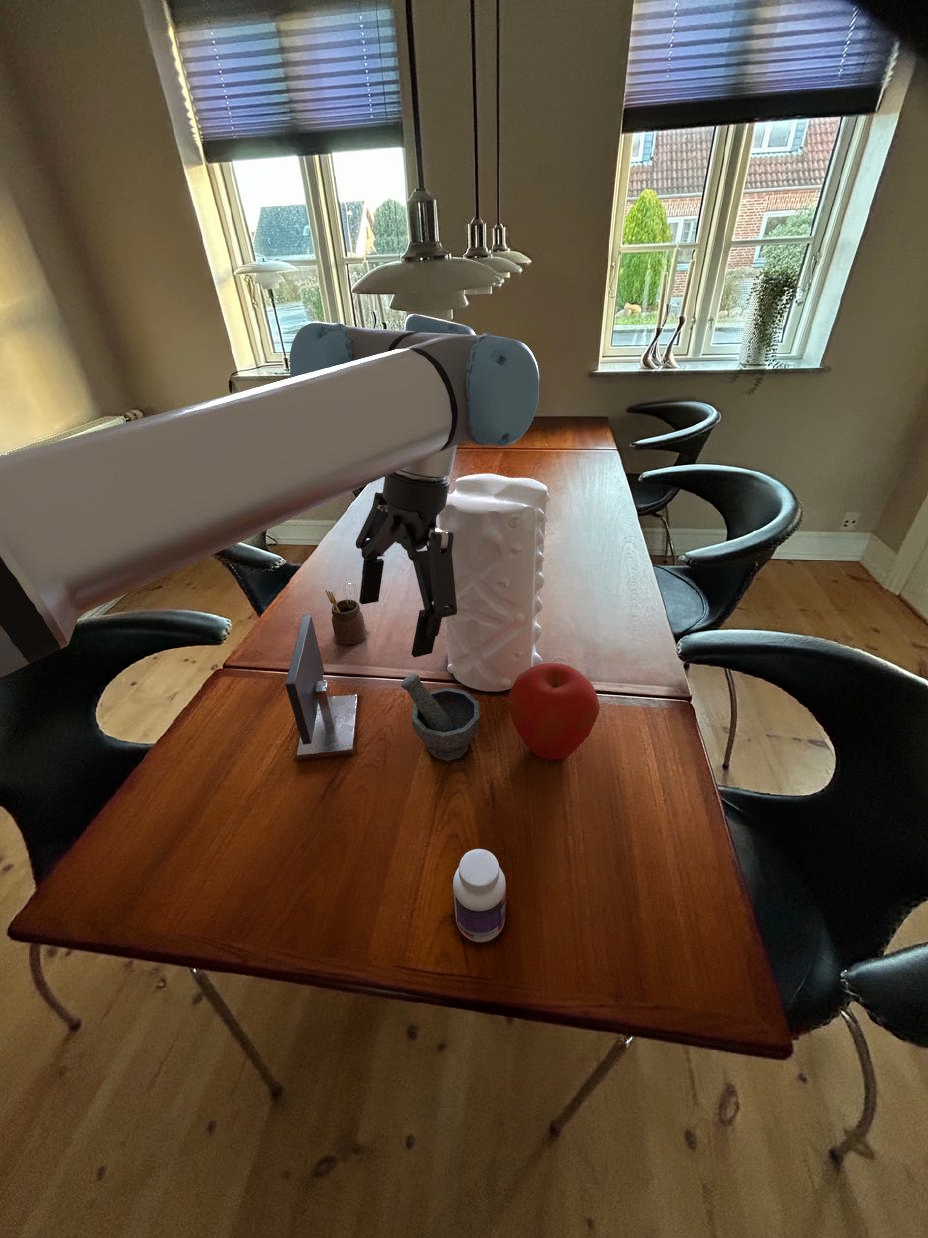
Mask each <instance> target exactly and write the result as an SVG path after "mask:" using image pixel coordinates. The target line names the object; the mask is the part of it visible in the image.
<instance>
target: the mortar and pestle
mask: <svg viewBox="0 0 928 1238" xmlns="http://www.w3.org/2000/svg"><path fill="white" fill-rule="evenodd" d="M401 688H402V689H403V690H404V691H407V693H408V695H409V696H410V698H411V700H412V701H413V707H412V716H411V723H412V727H413V730H414V733H415V734H416V736H417V737H418V738H419V740H421V741H422V743H423V744H424V745H425V746H426V747H427V750H428V752H429V753H431V754H430V755H432V756H433V757H434V759H438V760H442V761H447V762H449V761H452V760H456V759H460V758H462V756H463V755H464V754H465V753H466V752H467V751H468V750H469V743H470V742H471V741H472V740H473V739H474V738H475V737H476V735H477V734H478V732H479V728H480V702H479V701H478V700H476V698H474V697H473V696H472V695H471V694H470V693H469V692H468V691H467V690H461V689H458V688H452V687H444V688H438V689H435V690H430V691H429V690H428V689H427V687H426V686H425V685H424V684H423V682H422V681H421V676H420V675H419V674H417V673H412V674H409V675H408V676H406V677H405V678H404V679H403V680H402V682H401Z"/></svg>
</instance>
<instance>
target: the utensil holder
mask: <svg viewBox="0 0 928 1238" xmlns="http://www.w3.org/2000/svg"><path fill="white" fill-rule="evenodd" d="M347 585H349V582H347V583H346V585H344V587H343V588H344V594H347V588H348V586H347ZM351 585H352V586H356V585H355V583H354V582H351ZM353 591H354V592H353V594H354V595H355V597H357V596H358V595H357V594H358V591H357V589H356V587H353ZM325 594H326V596H327V598H328V600H329V602H330V604H332V606H331V615H332V616H331V625H332V629H333V634H334V638H335V640H336V641H337V643H339V644H340V645H345V646H346V645H347V646H350V645H355V644H357V643H360V642H361V641H363V640H364V638H365V637H366V633H367V632H366V631H367V630H366V623H365V618H364V615H363V614H364V613H363V612H362V611H361V607H360V603H359V601H357V598H353V599H348V598H347V596H343V598H344V599H341V600H339V601H337V599H336V597H335V595H334V593H333V592H332V591H329V590H327V589H326V590H325ZM349 594H352V592H351V586H349Z"/></svg>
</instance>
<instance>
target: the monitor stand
mask: <svg viewBox="0 0 928 1238" xmlns="http://www.w3.org/2000/svg"><path fill="white" fill-rule="evenodd" d="M316 694H317V698H318V702H319V703H318V709H317V715H316V720H315V726H314V732H313V738H312V743H311V744H304V745H303V743H302V740H301V737H300V736H299V741H298V746H297V751H296V758H297V760H298V761H299V760H309V759H316V758H317V759H319V758H326V757H336V756H347V755H353V754H354V747H355V734H356V723H357V712H358V711H357V710H358V700H359V699H358V695H357V694H356V693H355V694H348V695H347V694H346V695H337V696H332V695H331V691H330V686H329V682H328V680H327V679H325V680H322V681H318V683H317V688H316Z"/></svg>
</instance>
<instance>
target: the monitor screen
mask: <svg viewBox="0 0 928 1238" xmlns="http://www.w3.org/2000/svg"><path fill="white" fill-rule="evenodd" d="M314 625H315V624H314V621H313V617H312V614H303V615H302V619H301V622H300V626H299V629H298V630H299V631H298V633H297V638H296V642H295V645H294V647H293V648H294V649H293V653H292V656H291V660H290V664H289V668H288V672H287V676H286V679H285V683H284V685H285V689H286V692H287V695H288V699H289V702H290V705H291V709H292V713H293V716H294V720H295V723H296V726H297V730H298V733H299V738H300V737H301V740H302V743H303V745H304V744H311V743H312V738H313V732H314V726H315V720H316V715H317V709H318V703H319V702H318V698H317V694H316V688H317V683H318V681H324V673H325V668H324V664H323V659H322V655H321V651H320V647H319V642H318V638H317V635H316V630H315V629H316V628H315V626H314Z"/></svg>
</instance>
